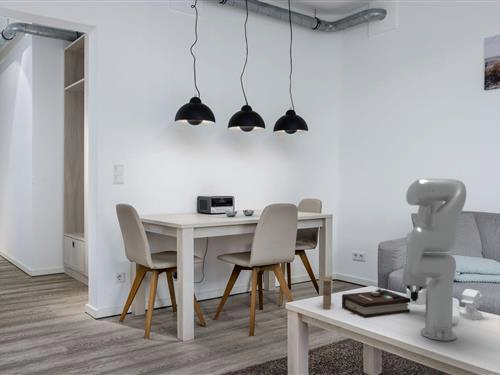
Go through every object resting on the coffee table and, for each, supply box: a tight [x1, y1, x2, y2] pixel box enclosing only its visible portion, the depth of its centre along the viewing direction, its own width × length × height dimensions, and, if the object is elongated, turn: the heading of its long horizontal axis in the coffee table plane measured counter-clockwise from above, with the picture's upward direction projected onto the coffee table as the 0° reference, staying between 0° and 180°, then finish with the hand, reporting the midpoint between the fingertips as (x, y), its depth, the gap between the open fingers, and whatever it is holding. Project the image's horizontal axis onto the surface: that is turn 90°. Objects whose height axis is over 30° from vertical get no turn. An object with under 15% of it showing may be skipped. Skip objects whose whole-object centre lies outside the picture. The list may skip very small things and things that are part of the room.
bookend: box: [322, 275, 333, 310], centre depth 208 cm, size 11×3×13 cm, turn 166°
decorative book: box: [341, 289, 411, 319], centre depth 203 cm, size 19×8×30 cm
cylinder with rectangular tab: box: [406, 286, 426, 306], centre depth 218 cm, size 9×9×12 cm
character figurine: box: [459, 288, 484, 321], centre depth 193 cm, size 9×10×12 cm
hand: (414, 300), depth 199 cm, fingers closed
